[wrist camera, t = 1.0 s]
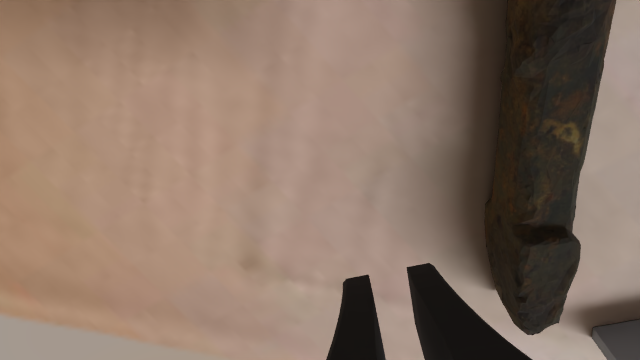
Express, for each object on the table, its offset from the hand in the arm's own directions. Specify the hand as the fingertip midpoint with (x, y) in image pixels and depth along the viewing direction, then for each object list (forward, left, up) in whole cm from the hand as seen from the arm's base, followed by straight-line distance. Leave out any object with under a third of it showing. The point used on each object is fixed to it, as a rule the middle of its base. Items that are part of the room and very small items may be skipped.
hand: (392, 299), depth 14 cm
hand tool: (-8, 0, -10) cm, 13 cm away
